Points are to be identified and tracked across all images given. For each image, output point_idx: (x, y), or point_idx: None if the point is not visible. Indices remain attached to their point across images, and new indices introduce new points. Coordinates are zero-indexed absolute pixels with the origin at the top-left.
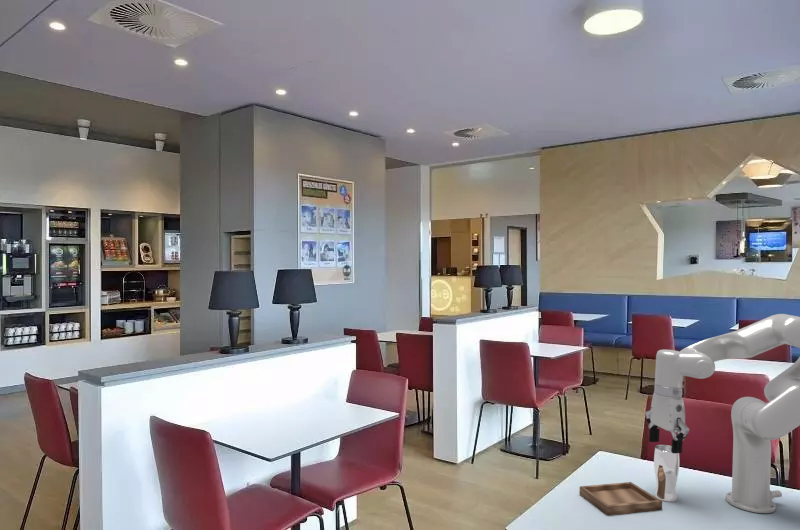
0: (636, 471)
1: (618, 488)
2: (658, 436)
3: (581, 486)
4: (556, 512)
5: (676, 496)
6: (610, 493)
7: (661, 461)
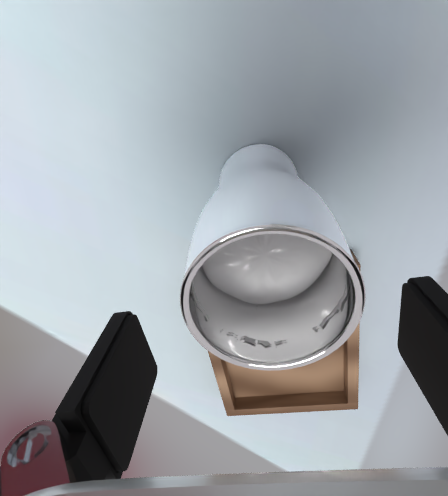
0: (3, 165)
1: None
2: (119, 350)
3: (227, 412)
4: (314, 454)
5: (283, 154)
6: None
7: (305, 311)
